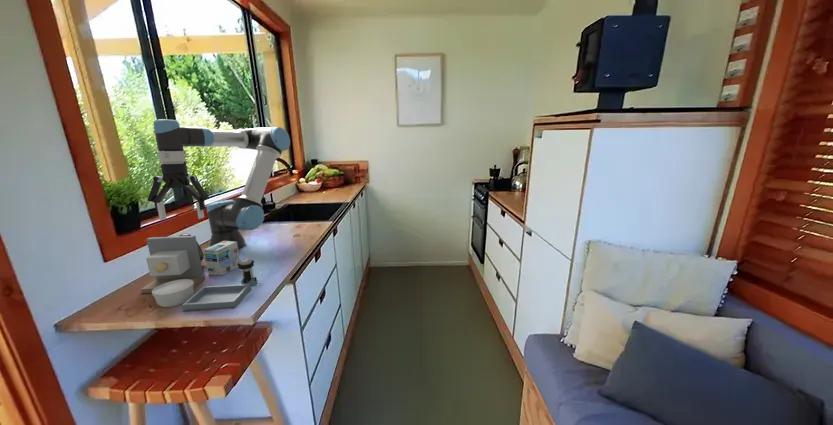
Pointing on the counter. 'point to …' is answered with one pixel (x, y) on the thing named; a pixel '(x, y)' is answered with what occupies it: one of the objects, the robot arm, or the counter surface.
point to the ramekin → (173, 292)
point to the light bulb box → (222, 257)
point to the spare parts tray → (217, 297)
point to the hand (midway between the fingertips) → (182, 218)
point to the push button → (247, 272)
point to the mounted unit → (173, 260)
